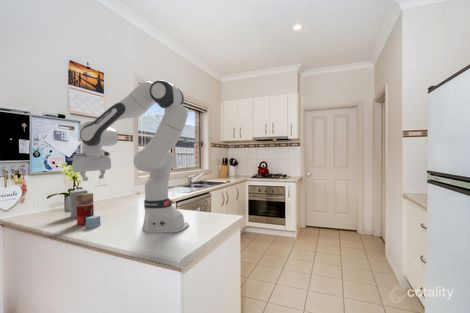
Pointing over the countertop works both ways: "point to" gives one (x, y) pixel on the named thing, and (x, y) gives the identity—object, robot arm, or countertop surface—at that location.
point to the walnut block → (84, 198)
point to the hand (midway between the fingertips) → (93, 179)
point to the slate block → (92, 221)
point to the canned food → (84, 213)
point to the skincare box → (74, 201)
